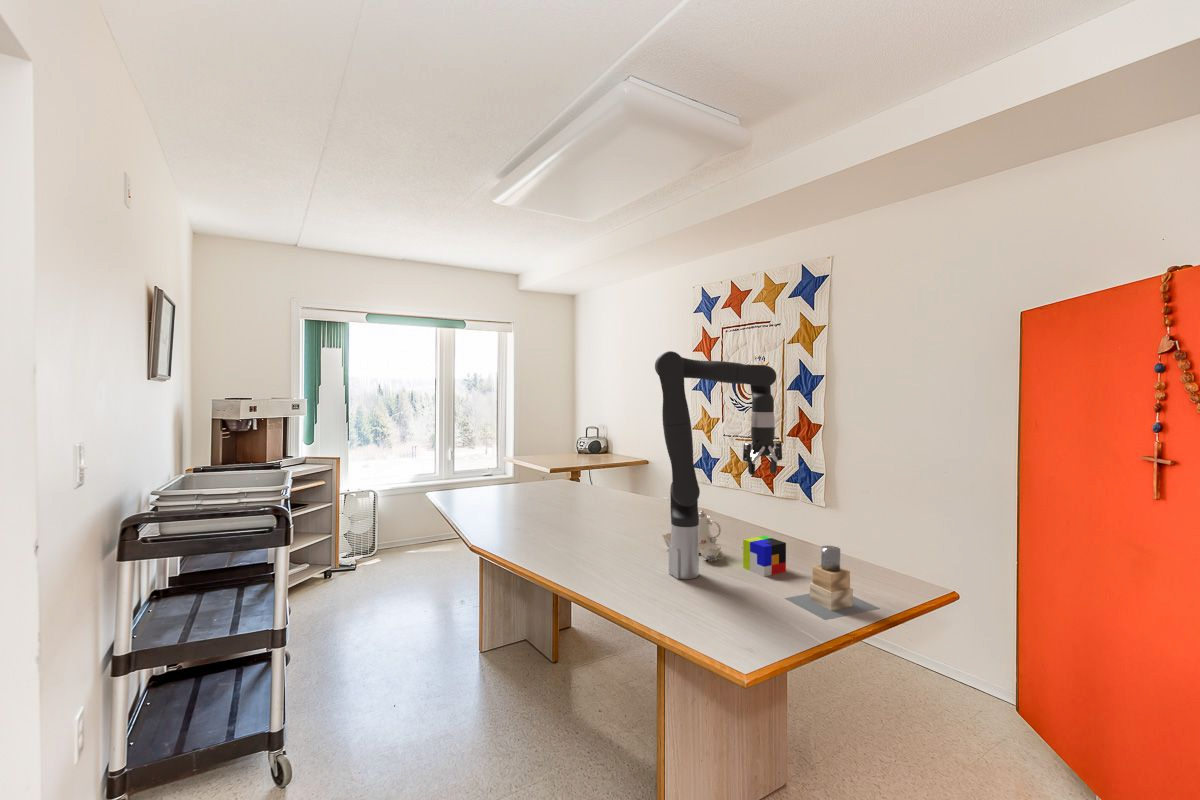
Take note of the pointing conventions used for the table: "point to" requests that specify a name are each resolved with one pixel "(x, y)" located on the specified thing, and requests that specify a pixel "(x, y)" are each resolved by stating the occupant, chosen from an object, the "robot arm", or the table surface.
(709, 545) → the chinaware
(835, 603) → the base block
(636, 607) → the table surface
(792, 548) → the table surface
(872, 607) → the slate mat
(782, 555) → the puzzle toy
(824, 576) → the top block
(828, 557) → the metal cylinder
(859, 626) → the table surface
